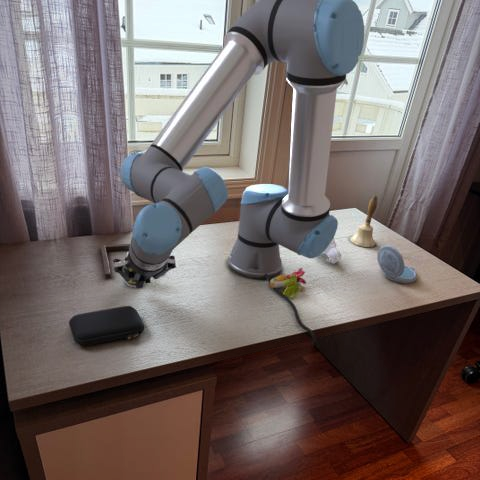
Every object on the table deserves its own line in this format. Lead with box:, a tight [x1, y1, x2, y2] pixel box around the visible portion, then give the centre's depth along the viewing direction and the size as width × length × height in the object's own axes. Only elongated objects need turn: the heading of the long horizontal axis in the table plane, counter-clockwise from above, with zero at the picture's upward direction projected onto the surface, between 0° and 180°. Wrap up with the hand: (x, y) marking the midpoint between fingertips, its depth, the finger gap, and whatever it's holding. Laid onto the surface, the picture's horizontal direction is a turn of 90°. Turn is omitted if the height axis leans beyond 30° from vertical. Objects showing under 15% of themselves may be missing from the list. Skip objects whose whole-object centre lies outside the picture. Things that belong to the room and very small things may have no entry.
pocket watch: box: [376, 244, 418, 284], centre depth 130 cm, size 10×11×15 cm
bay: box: [100, 243, 130, 280], centre depth 122 cm, size 16×14×2 cm
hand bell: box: [349, 195, 378, 248], centre depth 146 cm, size 8×8×16 cm
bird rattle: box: [269, 267, 307, 299], centre depth 119 cm, size 6×11×9 cm
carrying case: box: [68, 305, 146, 346], centre depth 95 cm, size 11×3×15 cm
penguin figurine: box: [321, 237, 342, 265], centre depth 135 cm, size 6×8×12 cm
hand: (138, 282), depth 107 cm, fingers closed
